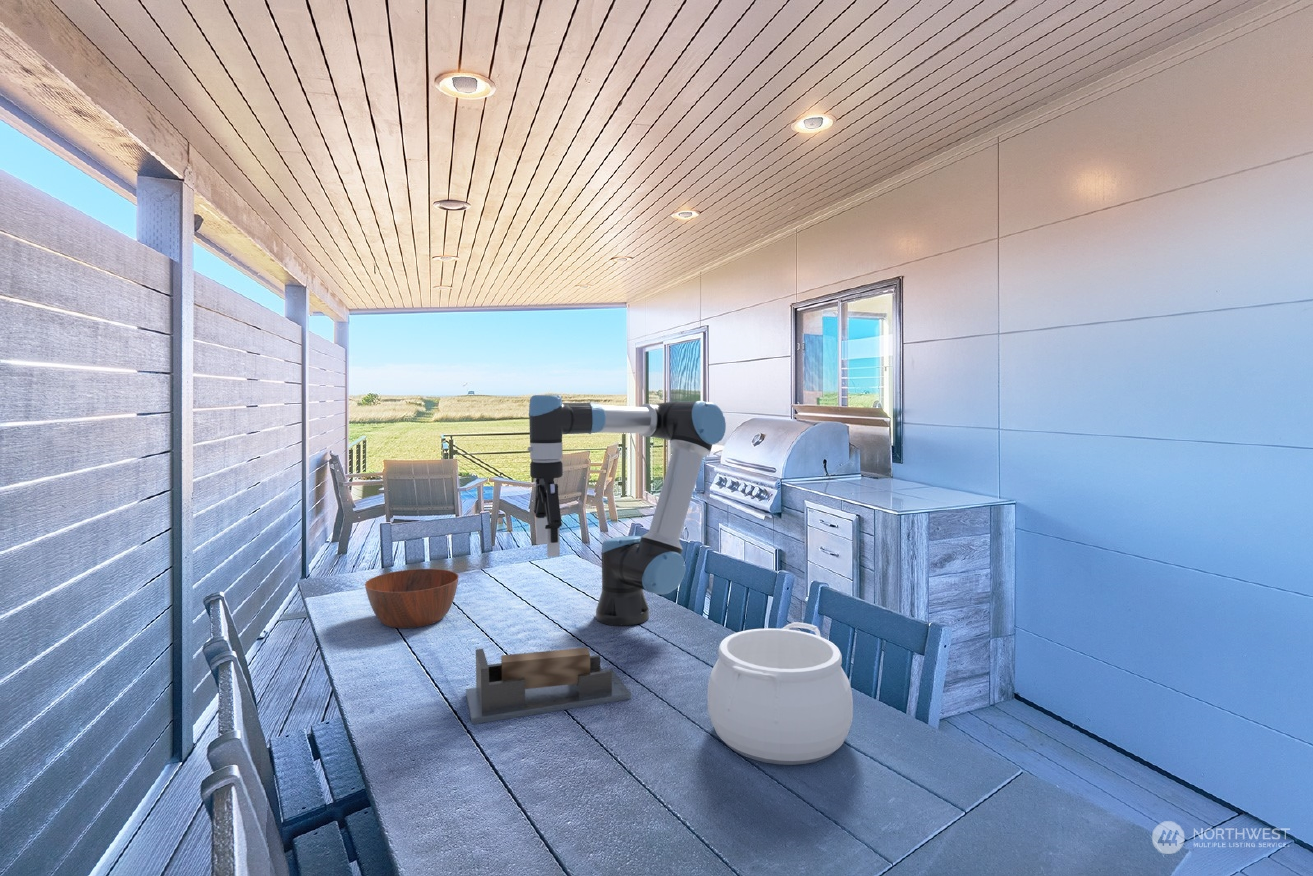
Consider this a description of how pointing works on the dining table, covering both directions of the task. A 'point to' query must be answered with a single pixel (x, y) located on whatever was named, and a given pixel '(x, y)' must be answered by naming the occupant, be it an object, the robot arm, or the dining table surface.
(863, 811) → the dining table surface
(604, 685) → the block fixture
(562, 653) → the rail
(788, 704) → the pot
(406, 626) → the bowl
